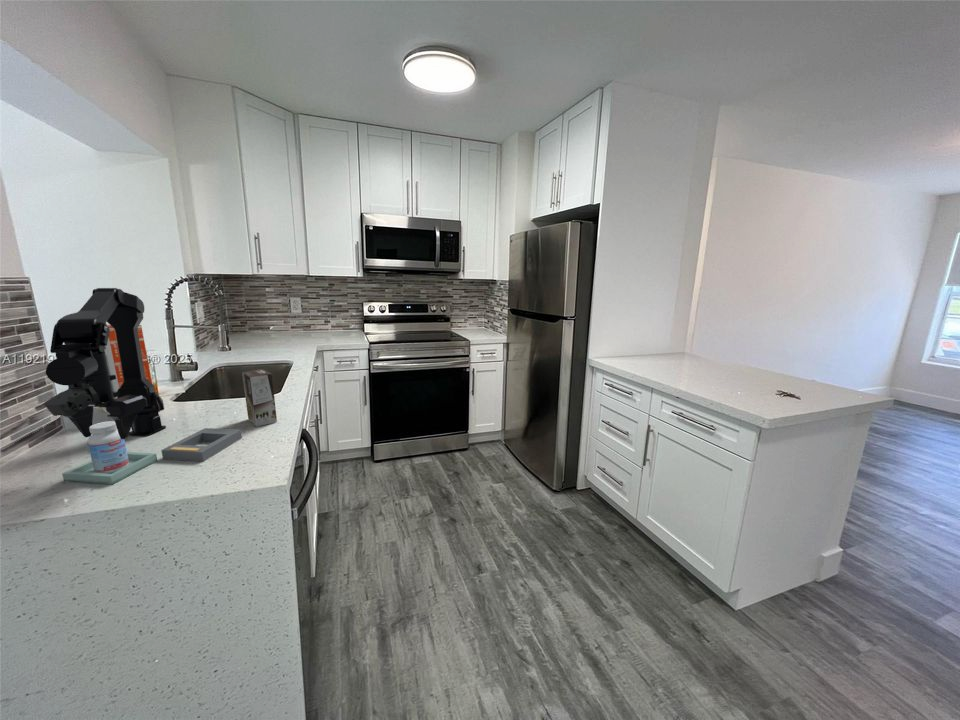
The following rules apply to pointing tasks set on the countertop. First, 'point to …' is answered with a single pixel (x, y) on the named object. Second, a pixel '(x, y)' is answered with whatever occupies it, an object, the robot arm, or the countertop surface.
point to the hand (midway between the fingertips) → (106, 437)
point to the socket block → (190, 452)
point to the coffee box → (259, 397)
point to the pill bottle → (107, 448)
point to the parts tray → (88, 475)
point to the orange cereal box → (115, 362)
